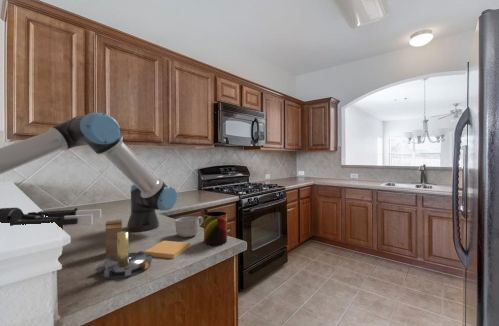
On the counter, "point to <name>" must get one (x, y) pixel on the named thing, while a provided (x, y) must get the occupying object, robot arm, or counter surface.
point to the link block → (112, 236)
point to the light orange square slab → (167, 249)
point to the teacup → (188, 226)
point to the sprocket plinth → (124, 274)
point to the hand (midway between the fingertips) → (96, 216)
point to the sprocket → (124, 259)
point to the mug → (215, 228)
